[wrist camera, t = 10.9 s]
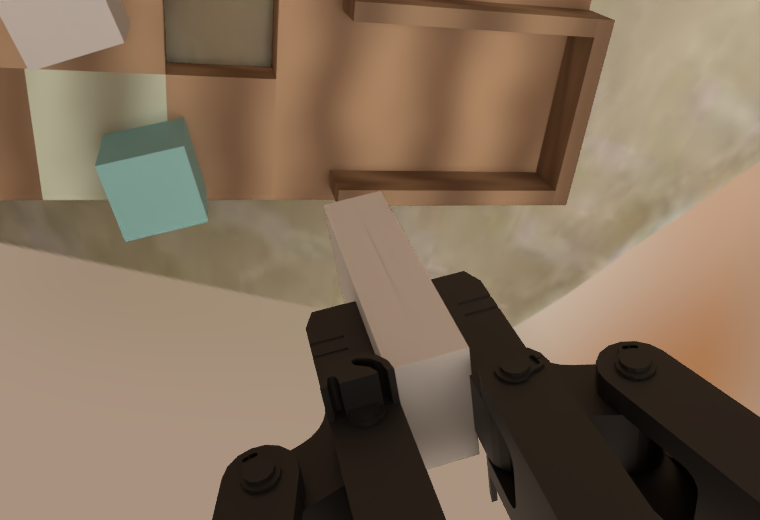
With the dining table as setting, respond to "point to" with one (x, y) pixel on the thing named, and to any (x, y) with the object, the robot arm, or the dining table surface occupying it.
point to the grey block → (63, 28)
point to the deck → (329, 104)
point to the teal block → (152, 179)
